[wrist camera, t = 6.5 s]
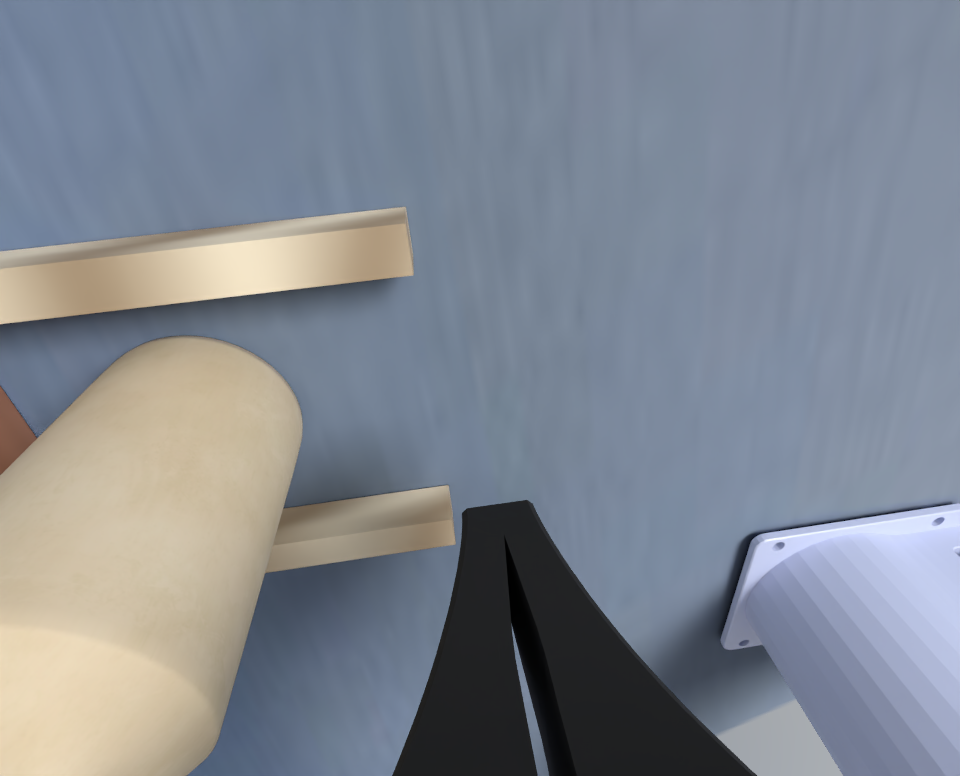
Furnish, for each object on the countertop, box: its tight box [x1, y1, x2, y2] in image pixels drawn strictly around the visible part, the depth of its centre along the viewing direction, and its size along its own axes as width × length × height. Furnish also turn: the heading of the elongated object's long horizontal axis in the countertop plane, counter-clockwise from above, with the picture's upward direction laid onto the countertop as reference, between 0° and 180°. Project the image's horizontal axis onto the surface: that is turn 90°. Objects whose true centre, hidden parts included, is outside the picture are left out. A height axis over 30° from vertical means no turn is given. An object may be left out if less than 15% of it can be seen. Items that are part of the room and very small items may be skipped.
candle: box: [0, 336, 303, 776], centre depth 11 cm, size 6×6×10 cm
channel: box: [0, 207, 456, 573], centre depth 14 cm, size 13×11×3 cm
